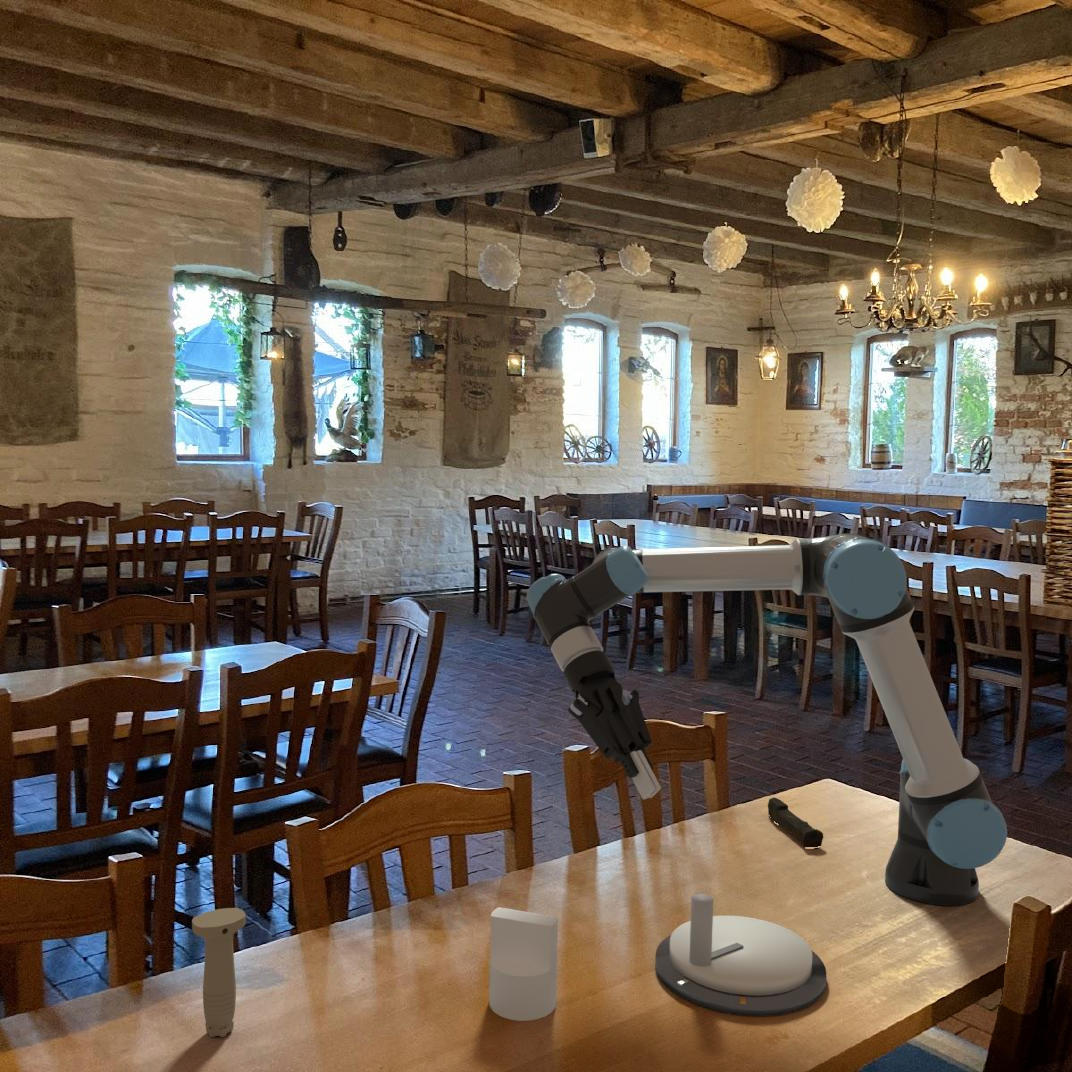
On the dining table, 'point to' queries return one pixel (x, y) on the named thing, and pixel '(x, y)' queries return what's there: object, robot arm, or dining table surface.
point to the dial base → (736, 1002)
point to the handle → (219, 966)
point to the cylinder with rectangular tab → (523, 964)
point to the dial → (738, 952)
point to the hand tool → (794, 824)
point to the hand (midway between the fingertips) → (652, 793)
